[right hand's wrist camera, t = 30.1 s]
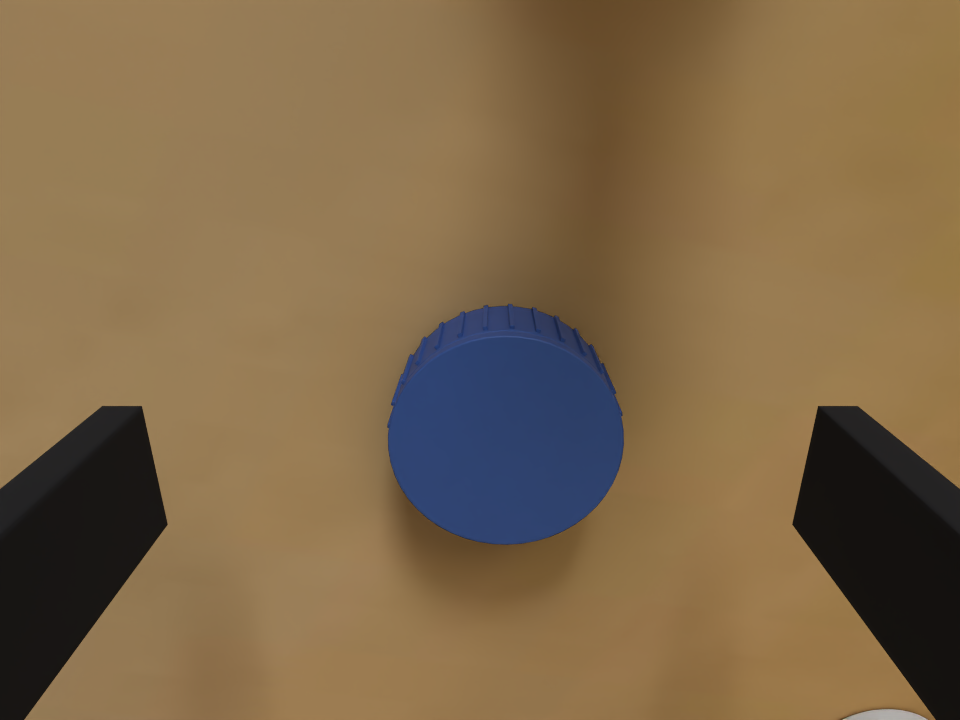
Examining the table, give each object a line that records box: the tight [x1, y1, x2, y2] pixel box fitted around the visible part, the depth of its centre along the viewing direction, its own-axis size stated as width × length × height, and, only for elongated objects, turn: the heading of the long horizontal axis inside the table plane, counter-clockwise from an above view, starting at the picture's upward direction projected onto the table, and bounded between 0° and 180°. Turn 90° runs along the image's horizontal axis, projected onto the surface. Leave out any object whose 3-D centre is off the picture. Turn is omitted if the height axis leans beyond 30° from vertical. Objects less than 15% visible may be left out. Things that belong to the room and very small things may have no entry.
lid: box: [388, 304, 624, 545], centre depth 16 cm, size 6×6×2 cm
